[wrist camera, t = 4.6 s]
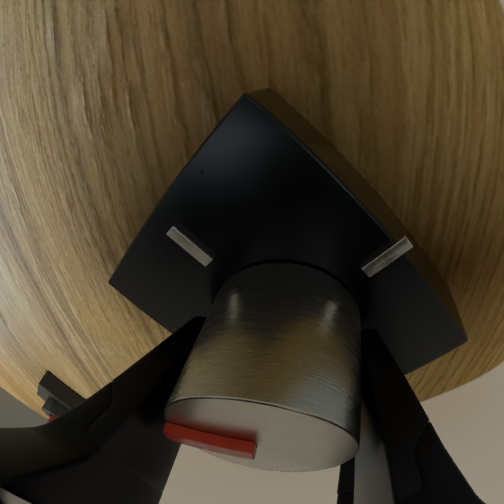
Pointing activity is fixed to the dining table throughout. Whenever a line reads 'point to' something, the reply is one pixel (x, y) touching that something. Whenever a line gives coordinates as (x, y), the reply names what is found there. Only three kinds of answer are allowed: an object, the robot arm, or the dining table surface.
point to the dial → (274, 373)
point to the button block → (57, 396)
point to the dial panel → (285, 232)
